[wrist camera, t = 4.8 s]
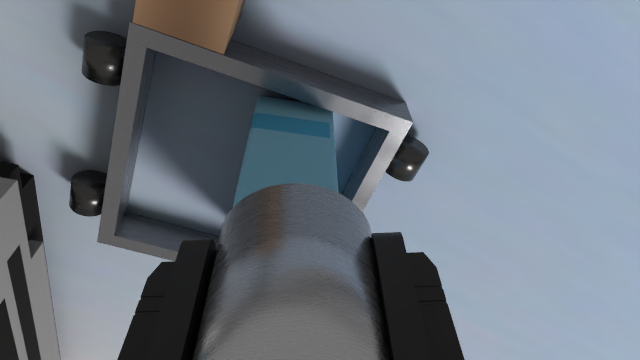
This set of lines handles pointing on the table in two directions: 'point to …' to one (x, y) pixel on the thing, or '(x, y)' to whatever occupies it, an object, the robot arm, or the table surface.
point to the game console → (23, 273)
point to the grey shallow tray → (244, 64)
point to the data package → (288, 147)
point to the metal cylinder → (293, 281)
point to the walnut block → (192, 20)
